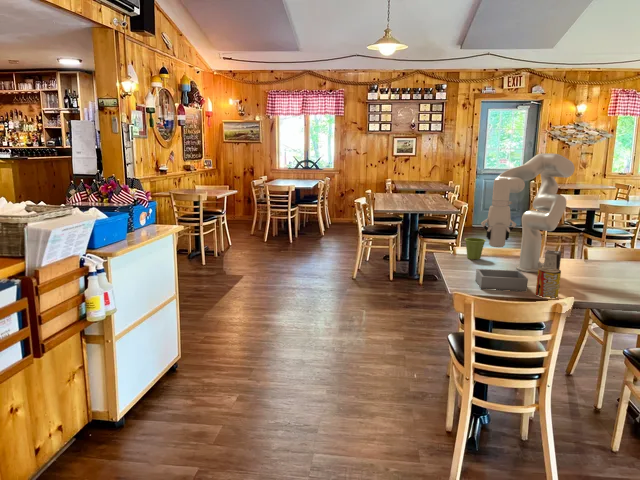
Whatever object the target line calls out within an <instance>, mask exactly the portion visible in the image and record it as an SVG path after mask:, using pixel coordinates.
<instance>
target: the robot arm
mask: <svg viewBox="0 0 640 480" xmlns="http://www.w3.org/2000/svg"><path fill="white" fill-rule="evenodd" d="M575 168H576V167H575V164H574V163H573V161H572V160H570V159H569V158H567V157H565V156H563V155H561V154H558V153H543V152H542V153H538V154H536V155H534V156H533V157H531V159H530V160H527V161H526V162H525V163H524V164H522V165H519V166H515V167H513V168H510V169H507V170H505V171H503V172H502V173H500V174H499V175H497V177H496V178H494V181H493V186H492V187H493V189H492V198H491V199H492V200H491V205H490V206H489V208H488V214H487V218H486V219H484V220H483V221H482V222H480V224H481V226H482V228H483V229H484V230H486V238H487V240H488V241H489V240H490V235H491V232H490V230H491V228H492V226H494V225H495V223H499V224H502V223H504V225H505V226H506V240H505V241H508V240H509V238H510V232H511V231H513V230H514V228H515V227H516V226H517V223H516V222H515V221H513V220H512V219H511V207H510V205H513V201H510V194H518V193H522V191H523V190H524V189H525V186H526V184H525V181H530V180H533V179H535V178H536V177H537V176H539V175H540V180H541V183H540V187H539V189H538V191H537V193H536V195H535V197H534V199H533V202H532V207H533V209H535V210H527V211H525V212H523V214H522V216H521V227H522V229H521V230H522V233H521V234H522V236H521V244H520V252H519V263H518V264H516V265H515V269H516V270H517V271H520V272H527V273H538V268H540V267H544V262H541V261H540V258H541V257H540V256H541V248H542V241H543V237H542V233H541V231H543V232H553V231H555V229H556V228H557V227H558V225H559V223H560V221H561V219H562V217H563V214H564V213H565V211H566V208H567V199H566V197H565V196H564V195H562V194H557V193H558V190H559V186H558V185H559V184H558V182H557V180H556V179H555V178H570V177H571V176H572V175H573V174H574V173H575ZM486 224H487V225H486Z"/></svg>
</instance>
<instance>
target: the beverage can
mask: <svg viewBox="0 0 640 480" xmlns="http://www.w3.org/2000/svg"><path fill="white" fill-rule="evenodd" d="M536 275H537V277H536V286H535V287H536V288H535V294H536V295H539V296H542V297H550V298H556V297H558V298H559V290H560V284H561V275H562V270H561V269H555V268H549V267H540V268H538V272H537V274H536ZM536 295H535V296H536Z"/></svg>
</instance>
